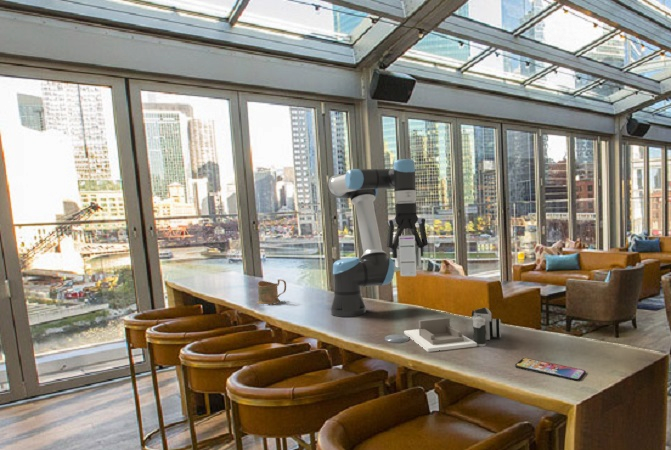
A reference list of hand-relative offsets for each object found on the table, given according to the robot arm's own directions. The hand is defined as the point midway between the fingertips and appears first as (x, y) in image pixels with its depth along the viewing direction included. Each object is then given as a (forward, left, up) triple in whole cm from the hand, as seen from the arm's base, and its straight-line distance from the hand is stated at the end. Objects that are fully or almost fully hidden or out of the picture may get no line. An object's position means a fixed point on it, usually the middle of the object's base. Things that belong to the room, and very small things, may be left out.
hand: (408, 266), depth 146 cm
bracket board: (+15, +4, -23) cm, 27 cm away
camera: (+20, +18, -23) cm, 35 cm away
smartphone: (+47, +19, -23) cm, 56 cm away
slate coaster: (+10, -9, -23) cm, 27 cm away
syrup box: (0, 0, -3) cm, 3 cm away
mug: (-67, -47, -23) cm, 85 cm away
